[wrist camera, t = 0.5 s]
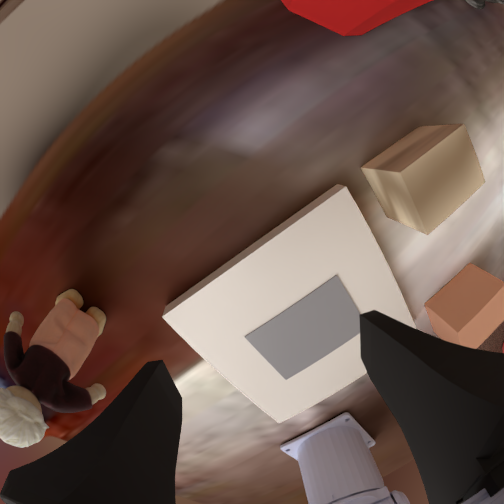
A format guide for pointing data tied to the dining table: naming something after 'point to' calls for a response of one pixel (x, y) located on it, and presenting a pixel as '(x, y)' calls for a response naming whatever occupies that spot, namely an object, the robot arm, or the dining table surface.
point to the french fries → (351, 13)
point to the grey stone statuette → (482, 3)
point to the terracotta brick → (467, 307)
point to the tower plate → (292, 307)
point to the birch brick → (425, 175)
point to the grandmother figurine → (48, 368)
